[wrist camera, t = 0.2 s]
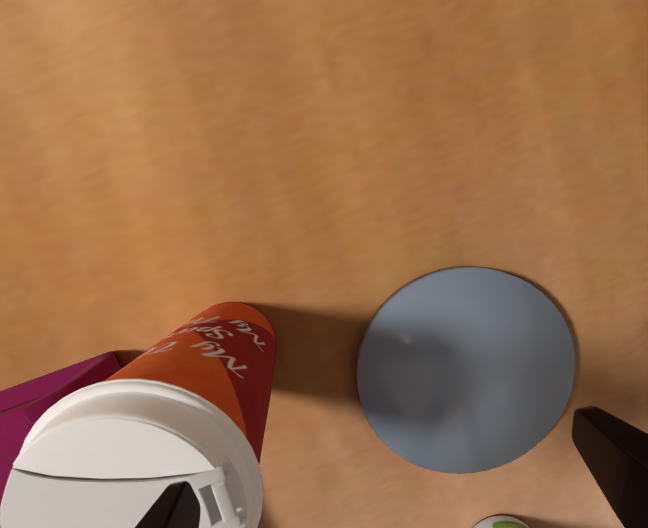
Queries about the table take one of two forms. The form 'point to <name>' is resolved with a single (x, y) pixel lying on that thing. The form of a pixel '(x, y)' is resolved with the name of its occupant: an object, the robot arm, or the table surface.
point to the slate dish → (465, 369)
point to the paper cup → (155, 433)
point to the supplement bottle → (501, 522)
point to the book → (42, 403)
